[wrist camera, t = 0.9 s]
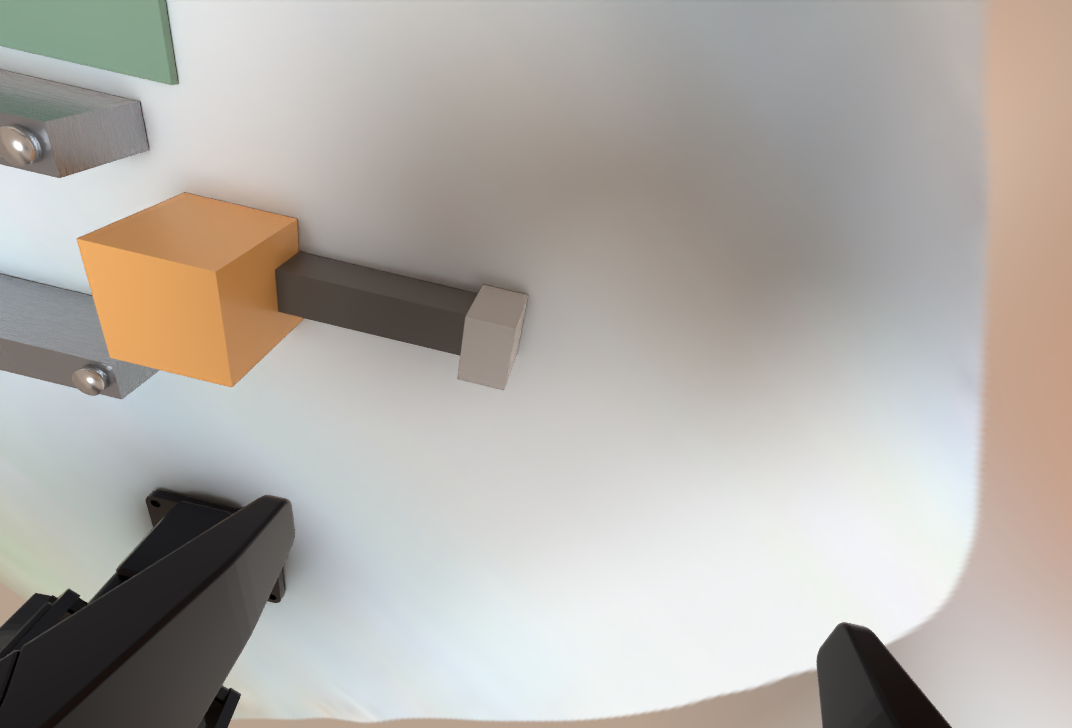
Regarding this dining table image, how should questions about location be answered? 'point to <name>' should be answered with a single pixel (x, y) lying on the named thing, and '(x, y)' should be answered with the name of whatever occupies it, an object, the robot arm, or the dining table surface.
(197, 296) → the plug
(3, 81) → the pair of grey bars
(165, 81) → the pad
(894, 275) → the dining table surface
